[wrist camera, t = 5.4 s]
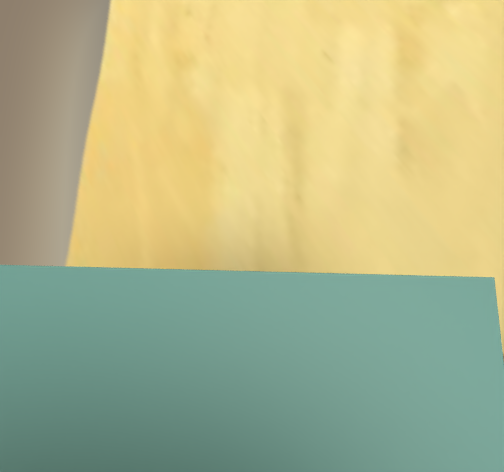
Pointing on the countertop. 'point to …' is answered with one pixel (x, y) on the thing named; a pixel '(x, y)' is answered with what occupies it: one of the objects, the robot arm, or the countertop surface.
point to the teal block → (248, 371)
